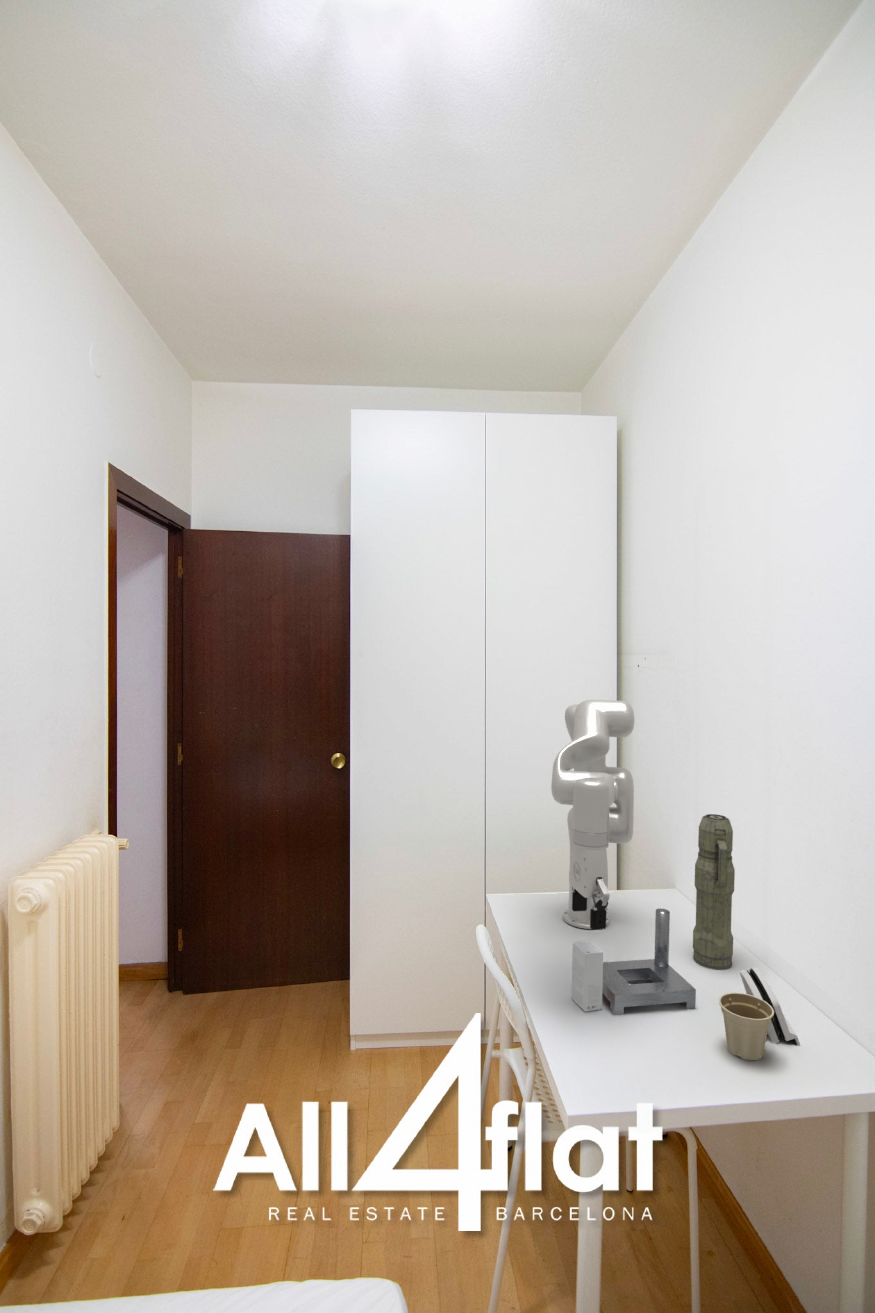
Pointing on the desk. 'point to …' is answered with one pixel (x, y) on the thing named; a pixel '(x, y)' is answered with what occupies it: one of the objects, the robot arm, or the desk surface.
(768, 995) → the white curved piece
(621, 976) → the gray square stand
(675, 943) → the desk surface
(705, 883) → the thermos
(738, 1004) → the flower pot
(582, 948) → the skincare box
